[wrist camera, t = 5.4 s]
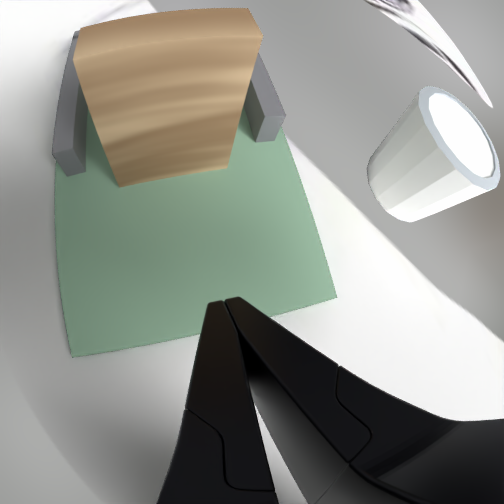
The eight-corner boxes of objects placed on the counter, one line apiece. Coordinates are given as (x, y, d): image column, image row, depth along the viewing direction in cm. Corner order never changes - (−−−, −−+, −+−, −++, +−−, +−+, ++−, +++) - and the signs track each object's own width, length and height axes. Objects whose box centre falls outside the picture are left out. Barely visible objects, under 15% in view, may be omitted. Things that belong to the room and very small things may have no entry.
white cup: (418, 251, 18) (497, 215, 11) (342, 183, 18) (406, 117, 12) (442, 186, 20) (503, 145, 14) (379, 128, 20) (430, 70, 14)
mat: (334, 298, 16) (337, 297, 16) (74, 357, 13) (72, 357, 12) (240, 32, 21) (240, 29, 20) (72, 56, 17) (72, 53, 17)
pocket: (274, 140, 18) (285, 115, 15) (66, 176, 15) (52, 154, 12) (232, 33, 20) (237, 10, 18) (80, 54, 17) (74, 31, 15)
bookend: (227, 168, 16) (262, 35, 8) (119, 187, 15) (72, 59, 6) (196, 49, 19) (210, -53, 10) (117, 61, 17) (105, -42, 9)
